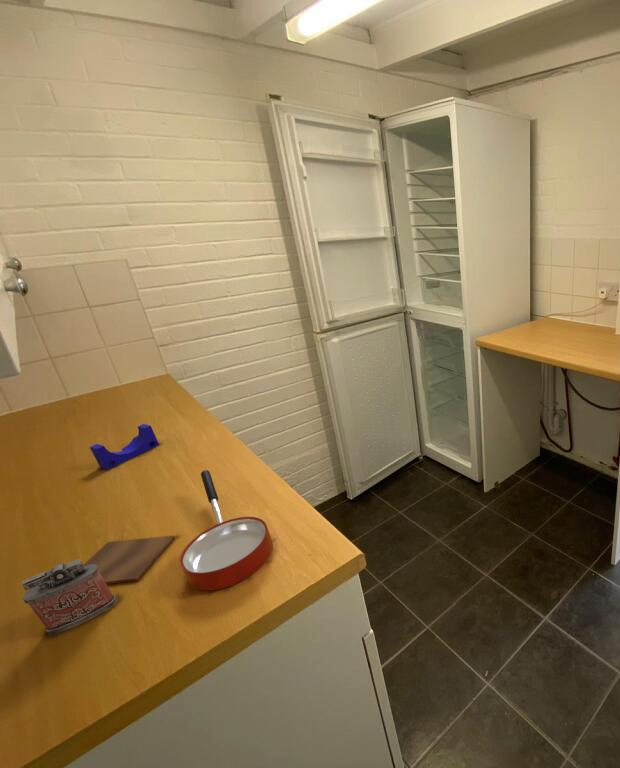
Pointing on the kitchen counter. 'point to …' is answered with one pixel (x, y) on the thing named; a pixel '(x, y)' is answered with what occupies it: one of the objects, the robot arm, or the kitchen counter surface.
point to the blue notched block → (126, 448)
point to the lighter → (68, 595)
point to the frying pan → (225, 548)
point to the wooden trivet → (128, 558)
